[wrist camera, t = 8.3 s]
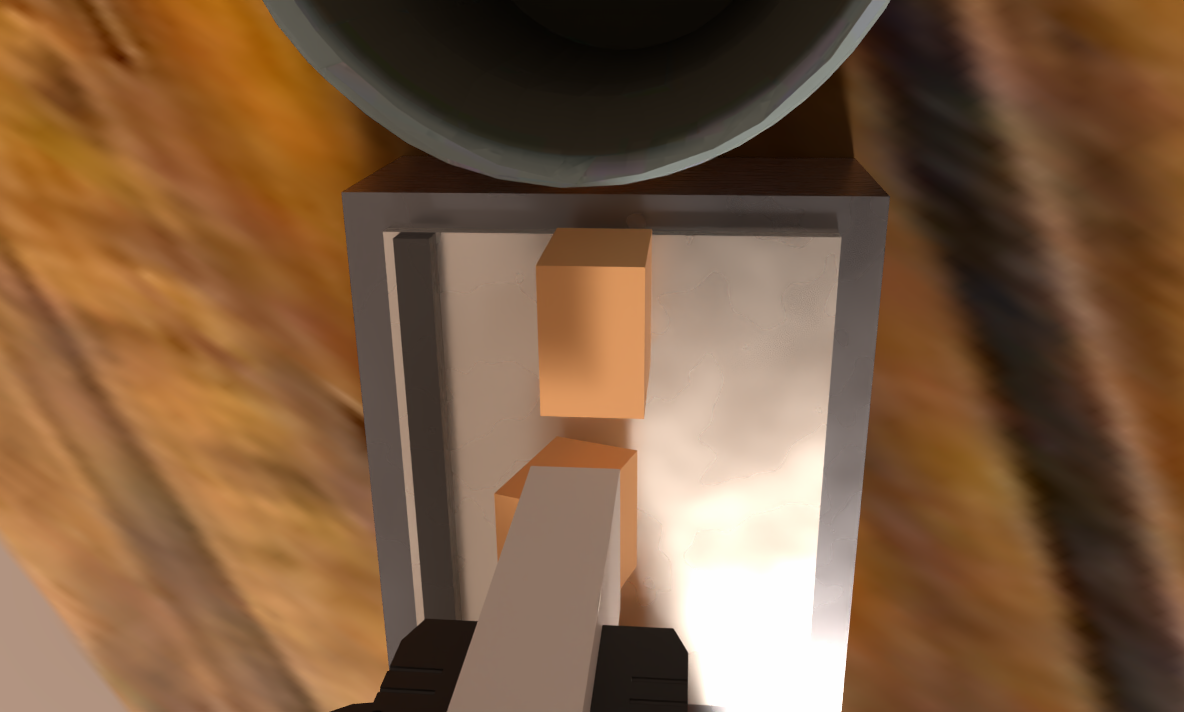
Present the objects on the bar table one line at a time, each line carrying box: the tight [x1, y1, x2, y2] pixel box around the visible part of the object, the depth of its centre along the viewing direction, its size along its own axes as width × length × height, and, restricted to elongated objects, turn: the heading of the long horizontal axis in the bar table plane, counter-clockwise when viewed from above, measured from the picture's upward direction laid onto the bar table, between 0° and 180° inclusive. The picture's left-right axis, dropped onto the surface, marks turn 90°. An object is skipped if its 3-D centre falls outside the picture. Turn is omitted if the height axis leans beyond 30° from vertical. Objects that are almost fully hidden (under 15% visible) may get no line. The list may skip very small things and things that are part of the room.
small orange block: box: [494, 436, 637, 589], centre depth 22 cm, size 2×3×3 cm, turn 2°
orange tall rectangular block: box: [536, 228, 652, 419], centre depth 20 cm, size 2×3×3 cm, turn 1°
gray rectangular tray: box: [342, 156, 890, 712], centre depth 26 cm, size 12×14×6 cm
